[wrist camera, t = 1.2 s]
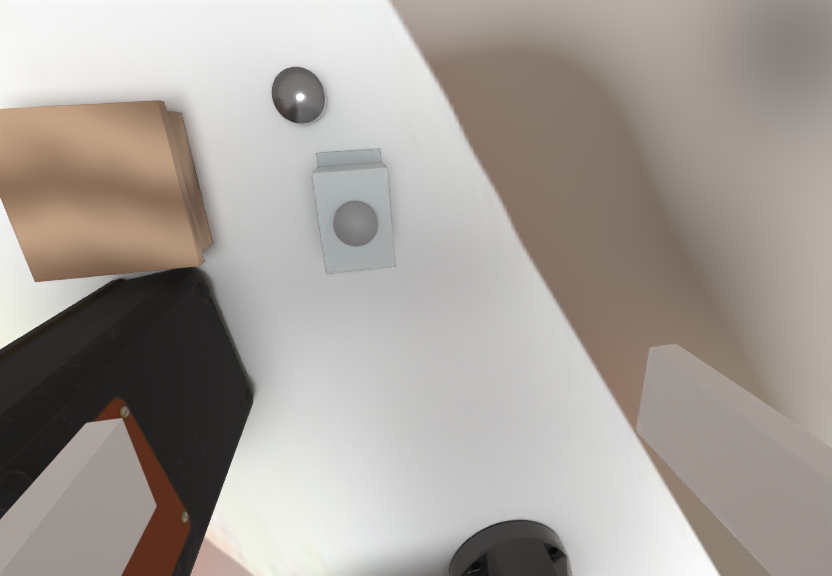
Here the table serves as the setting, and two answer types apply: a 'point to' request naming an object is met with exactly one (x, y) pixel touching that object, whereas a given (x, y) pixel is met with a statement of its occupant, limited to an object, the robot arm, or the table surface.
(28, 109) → the stand
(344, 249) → the housing
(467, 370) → the table surface
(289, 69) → the dark grey metallic dome
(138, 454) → the black carrying case
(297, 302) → the table surface
